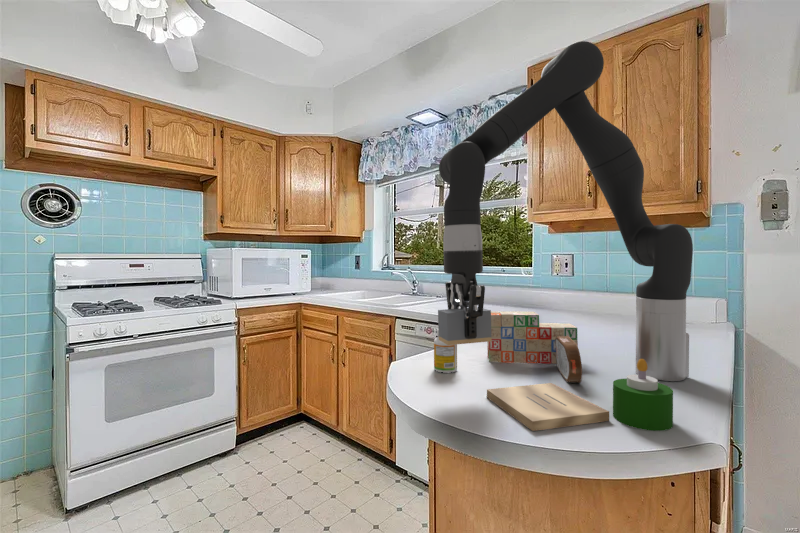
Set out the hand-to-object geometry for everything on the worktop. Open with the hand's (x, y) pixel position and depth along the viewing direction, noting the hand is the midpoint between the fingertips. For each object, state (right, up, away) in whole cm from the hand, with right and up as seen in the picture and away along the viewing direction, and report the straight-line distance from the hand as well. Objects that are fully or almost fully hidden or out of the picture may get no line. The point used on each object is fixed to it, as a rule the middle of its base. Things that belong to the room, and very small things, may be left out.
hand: (464, 335), depth 77 cm
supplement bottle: (-2, -11, +15) cm, 19 cm away
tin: (+24, -11, +10) cm, 28 cm away
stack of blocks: (+21, -11, +24) cm, 33 cm away
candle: (+27, -12, -13) cm, 32 cm away
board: (+12, -11, -8) cm, 19 cm away
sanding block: (0, -1, 0) cm, 1 cm away
